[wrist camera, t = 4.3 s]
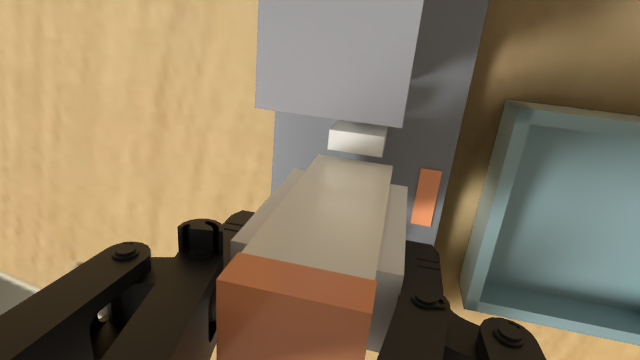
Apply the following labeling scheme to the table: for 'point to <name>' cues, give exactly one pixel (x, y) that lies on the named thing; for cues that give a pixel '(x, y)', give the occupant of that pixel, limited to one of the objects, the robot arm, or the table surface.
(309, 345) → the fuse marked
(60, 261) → the table surface
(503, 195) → the tray
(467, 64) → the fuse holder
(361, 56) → the block
